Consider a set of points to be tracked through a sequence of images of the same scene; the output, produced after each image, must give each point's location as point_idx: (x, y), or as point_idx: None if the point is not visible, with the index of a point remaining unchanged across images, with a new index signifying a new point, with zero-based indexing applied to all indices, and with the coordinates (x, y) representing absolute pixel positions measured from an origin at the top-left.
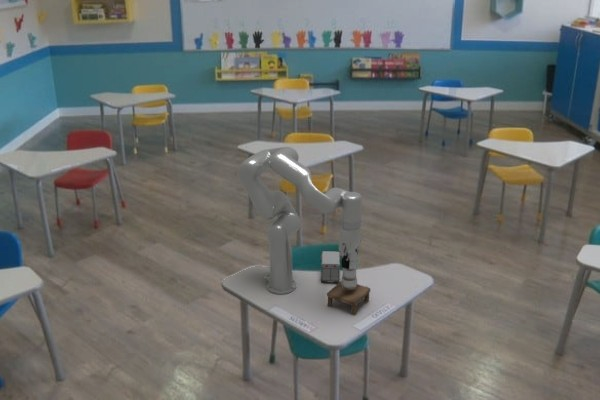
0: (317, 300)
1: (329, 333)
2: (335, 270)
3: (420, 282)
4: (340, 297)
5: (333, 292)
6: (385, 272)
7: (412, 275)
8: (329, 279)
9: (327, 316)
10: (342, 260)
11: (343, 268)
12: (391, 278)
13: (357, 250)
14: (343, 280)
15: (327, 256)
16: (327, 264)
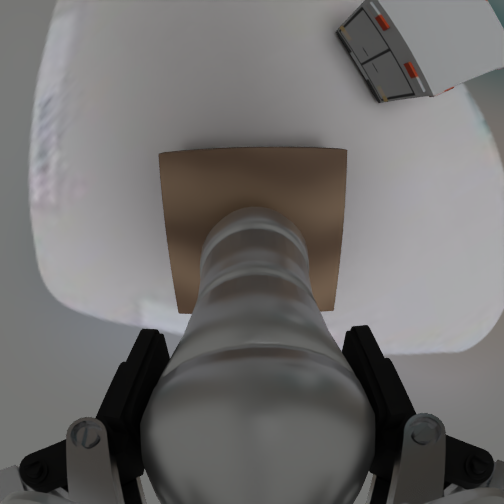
0: (192, 89)
1: (64, 258)
2: (399, 77)
3: (467, 337)
4: (169, 236)
5: (187, 178)
6: (499, 234)
7: (494, 305)
8: (360, 59)
9: (121, 197)
10: (116, 397)
11: (203, 297)
12: (476, 267)
13: (379, 486)
14: (202, 258)
15: (455, 7)
16: (391, 24)
